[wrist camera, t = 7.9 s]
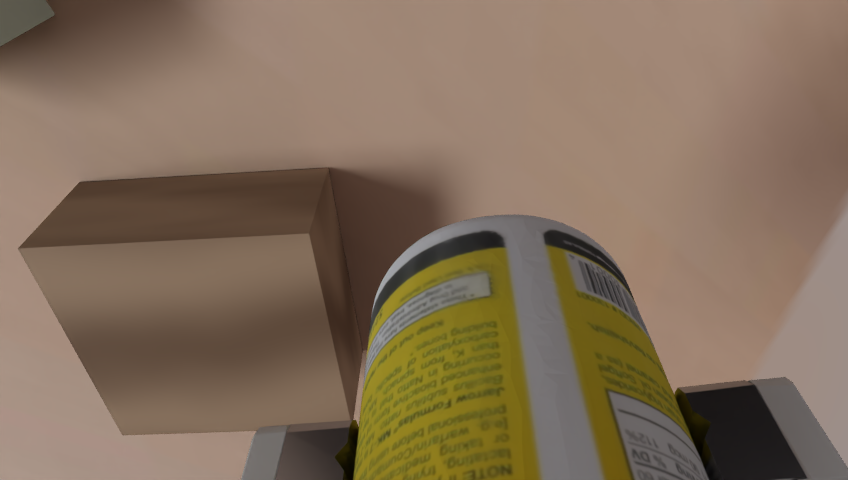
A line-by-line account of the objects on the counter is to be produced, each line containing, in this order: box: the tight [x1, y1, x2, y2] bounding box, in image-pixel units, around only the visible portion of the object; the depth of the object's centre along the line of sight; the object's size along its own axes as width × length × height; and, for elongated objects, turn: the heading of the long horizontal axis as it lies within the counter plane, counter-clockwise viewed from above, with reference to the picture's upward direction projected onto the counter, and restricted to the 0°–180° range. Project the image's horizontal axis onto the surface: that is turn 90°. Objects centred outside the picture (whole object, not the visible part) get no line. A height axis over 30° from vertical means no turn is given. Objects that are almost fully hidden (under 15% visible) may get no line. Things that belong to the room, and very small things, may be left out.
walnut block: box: [18, 168, 363, 435], centre depth 23 cm, size 9×9×4 cm
